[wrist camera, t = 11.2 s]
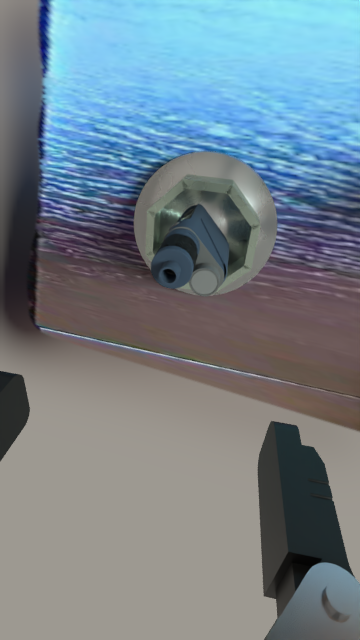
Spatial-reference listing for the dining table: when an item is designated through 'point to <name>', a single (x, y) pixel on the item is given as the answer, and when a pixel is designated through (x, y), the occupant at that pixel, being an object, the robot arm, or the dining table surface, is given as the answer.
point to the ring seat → (210, 210)
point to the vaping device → (192, 254)
